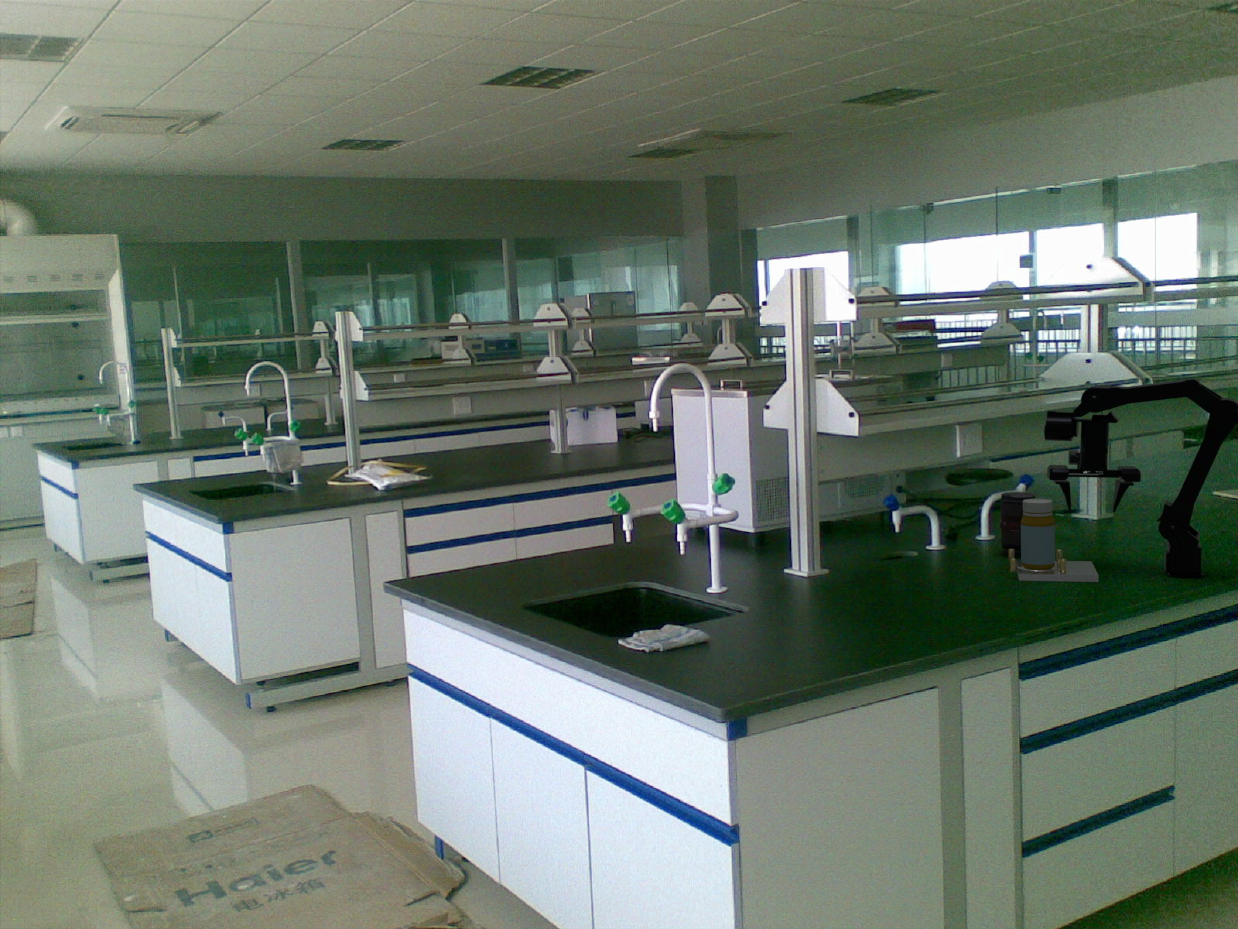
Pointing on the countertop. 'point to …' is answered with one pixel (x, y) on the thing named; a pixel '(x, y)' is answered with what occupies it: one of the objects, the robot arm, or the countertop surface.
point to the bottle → (1037, 535)
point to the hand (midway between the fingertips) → (1091, 511)
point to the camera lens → (1012, 520)
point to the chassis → (1056, 570)
